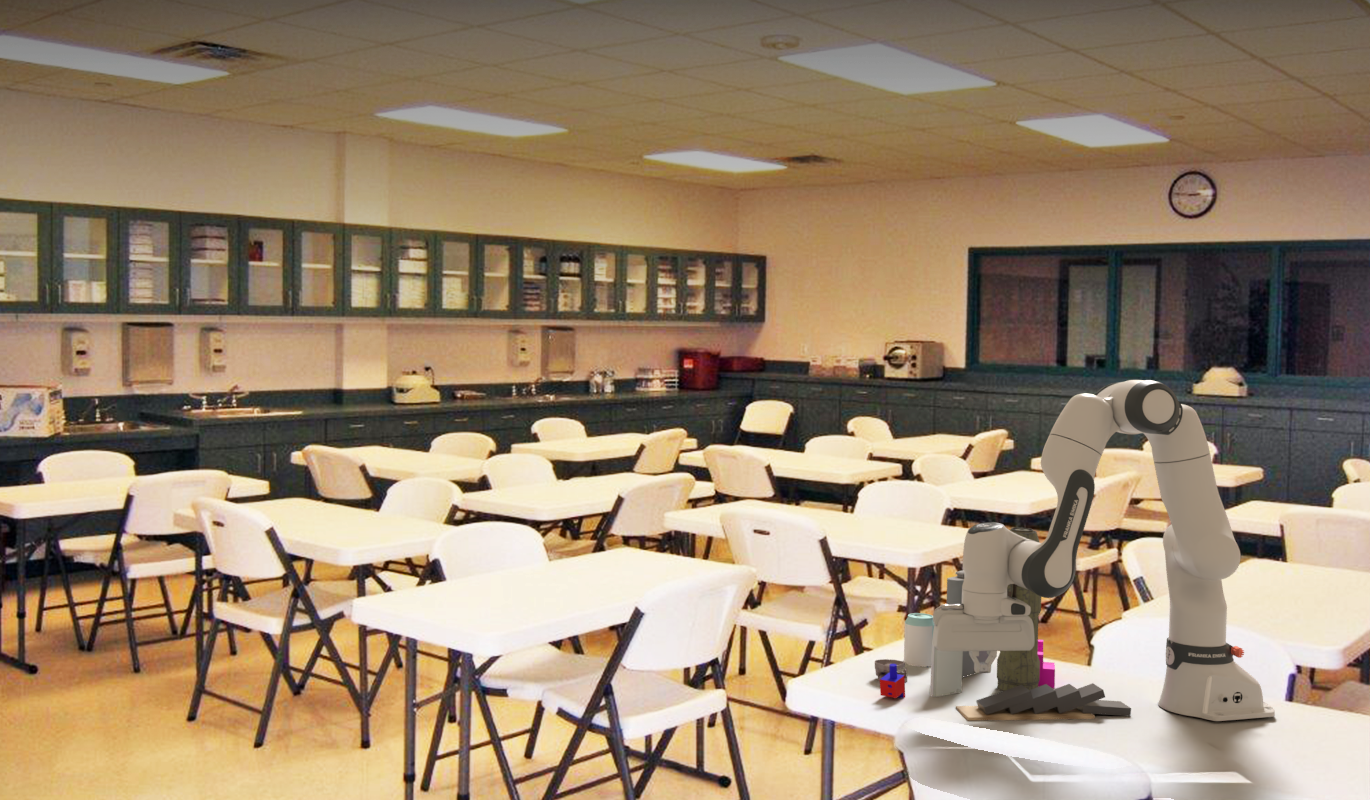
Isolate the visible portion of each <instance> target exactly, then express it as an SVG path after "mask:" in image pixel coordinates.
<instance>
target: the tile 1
mask: <svg viewBox="0 0 1370 800" xmlns="http://www.w3.org/2000/svg"><path fill="white" fill-rule="evenodd" d="M1031 699H1033V697H1032V694H1031V691H1030V690H1028V689H1027V688H1026V687H1024V686H1023V685H1019V686H1017V687H1014V688H1011V689H1008V690H1005V691H1000V692H997V693H994V694H992V695H988V696H986V697H983V698H980V699H976V701H975V702H976V704H977V705H976V706H978V708H979V709H980V710H981V711H982V712H984V713H985V714H986V715H988V714H991V713H994V712H997V711H1000V710H1002V709H1005V708H1008V707H1011V706H1014V705H1017V704H1019V703H1022V702H1025V701H1028V700H1031Z"/></svg>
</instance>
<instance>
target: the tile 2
mask: <svg viewBox="0 0 1370 800" xmlns="http://www.w3.org/2000/svg"><path fill="white" fill-rule="evenodd" d="M1054 689H1055V688H1051V687H1050V686H1048V685H1047V684H1045V685H1042V686H1039V687H1036V688H1034V689H1031V690H1030V691H1031V694H1032V697H1033V699H1031V700H1028V701H1025V702H1022V703H1019V704H1017V705H1014V706H1011V707H1008V708H1005V710H1006V711H1008V712H1009V713H1010V714H1011V715H1012V714H1015V713H1018V712H1021V711H1023V710H1026V709H1029V708H1032V707H1034V706H1037V705H1040V704H1043V703H1046V702H1048V701H1051V700H1054V699H1057V698H1058V697H1057V694H1056V691H1055V690H1054Z"/></svg>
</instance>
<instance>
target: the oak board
mask: <svg viewBox="0 0 1370 800" xmlns="http://www.w3.org/2000/svg"><path fill="white" fill-rule="evenodd" d="M955 709H956V710H957V711H958V712H959V713H960V714H961V715H962V716H963V717H964V718H965V719H966V721H1020V720H1021V721H1027V720H1029V721H1030V720H1036V721H1037V720H1041V721H1042V720H1095V719H1096V716H1095V714H1089V713H1082V712H1081V711H1079V710H1078V709H1076V708H1074V709H1072V710H1069V711H1066V712H1063V713H1061V714H1059V713H1058V712H1056V711H1055V710H1054V709H1049V710H1046V711H1043V712H1041V713H1038V714H1034V713H1033V712H1032V711H1030V710H1029V709H1026V710H1023V711H1021V712H1018V713H1015V714H1012V715H1011V714H1010V713H1009V712H1008V711H1006V710H1005V709H1002V710H1000V711H997V712H994V713H991V714H988V715H986V714H985V713H984V712H982V711H981V710H980V709H979V708H978V705H955Z"/></svg>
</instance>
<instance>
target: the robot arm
mask: <svg viewBox="0 0 1370 800" xmlns="http://www.w3.org/2000/svg"><path fill="white" fill-rule="evenodd" d="M1055 420H1056V421H1055V423H1054V424H1053V426H1052V428H1051V430H1050V432H1049V435H1048V437H1047V440H1046V442H1045V444H1044V447H1043V450H1042V453H1041V458H1040V467H1041V469H1042V472H1043V474H1044V476H1045V478H1046V479H1047V480H1048V482H1049V483H1050V484H1051V485H1052V486H1053V488H1054V489H1055V491H1056V495H1057V503H1056V507H1055V511H1054V515H1053V517H1052V521H1051V523H1050V525H1049V529H1048V532H1047V535H1046V537H1045V539H1044V541H1042V542H1040V541H1039V542H1040V543H1039V542H1036V541H1034V540H1030V539H1027V538H1025V537H1022V536H1020V535H1017V534H1015V533H1013V532H1012V531H1010V530H1011V529H1009V528H1007V527H1006V526H1005V525H1004V524H1003V523H999V522H996V521H995V522H994V521H993V522H992V521H991V522H981V523H977V524H974V525H973V526H971V527H970V528H969V529H968V530H967V532H966V534H965V538H964V543H963V549H962V550H963V551H962V570H963V571H964V582H963V585H962V604H952V605H947V603H945V604H940V606H937V607H936V608H935V609H934V610H933V614H932V616H933V622H934V624H935V625H934V630H933V639H932V643H933V645H934V647H935V648H936V649H937V650H939V651H969V655H970V657H971V658H972V660H973V662H974V671H975V672H976V674H981V673H982V674H990V673H991V672H992V664H993V663H994V661H995V660H996V658H998V655H997V654H998V652H1000V651H1030V650H1031V649H1032V648H1033V646H1034V641H1035V639H1034V626H1033V622H1032V619H1031V618H1030V617H1029V616H1028V615H1029V614H1030V612H1031V608H1030V606H1029V605H1028V604H1026V603H1025V602H1023V601H1021V600H1019V599H1016V598H1013V597H1010V596H1007V587H1008V585H1009V584H1016V585H1018V586H1020V587H1023V588H1025V589H1028V590H1030V591H1032V592H1033V593H1035V594H1037V595H1039V596H1041V598H1046V599H1053V598H1057V597H1059V596H1062V594H1065V592H1066V591H1067V590H1068V589H1069V588H1070V587H1071V585H1072V584H1073V581H1074V579H1075V576H1076V575H1075V574H1076V569H1077V568H1076V567H1077V565H1076V564H1077V554H1078V550H1079V546H1080V544H1081V539H1082V536H1083V533H1084V530H1085V527H1086V524H1087V520H1088V518H1089V514H1090V510H1091V506H1092V504H1093V500H1094V495H1095V488H1096V486H1095V477H1096V474H1097V469H1098V466H1099V464H1100V461H1101V458H1102V456H1103V453H1104V451H1105V449H1106V446H1107V443H1108V442H1109V440H1110V439H1111V437H1112V436H1113V435H1114V434H1126V435H1139V434H1143V435H1144V436H1145V437H1146V438H1147V440H1148V443H1149V445H1150V447H1151V453H1152V459H1153V465H1154V469H1155V475H1156V478H1157V479H1156V480H1157V483H1158V489H1159V494H1160V498H1161V501H1162V503H1163V506H1164V508H1165V510H1166V512H1167V515H1168V517H1169V518H1168V519H1169V521H1170V524H1169V525H1168V527H1166V529H1165V531H1164V532H1163V536H1162V544H1163V550H1164V556H1165V557H1164V558H1165V570H1166V581H1167V587H1168V595H1169V597H1168V598H1169V614H1168V615H1169V618H1168V619H1169V621H1168V622H1169V625H1168V626H1169V627H1168V637H1166V645H1165V648H1166V649H1165V665H1166V668H1165V669H1166V671H1165V675H1164V676H1165V677H1164V682H1163V688H1162V690H1161V693H1160V697H1159V699H1158V702H1157V704H1158V706H1159V707H1160V708H1161V709H1163V710H1165V711H1168V712H1171V713H1174V714H1179V715H1182V716H1188V717H1194V718H1200V719H1204V720H1208V721H1212V722H1222V721H1223V722H1224V721H1236V720H1237V721H1238V720H1248V719H1259V718H1262V719H1263V718H1271V717H1275V716H1276V713H1275V708H1273V707H1272V706H1271V705H1270V704H1268V703H1266V702H1264V696H1263V695H1264V694H1263V691H1262V690H1263V689H1262V687H1261V683H1259V681H1258V680H1257V679H1256V678H1255V677H1254V676H1252V675H1251V674H1250V673H1249V672H1248V671H1246V670H1245V669H1244V668H1243V667H1242V666H1240V665H1239V664H1238V663H1236V661H1235V660H1234V656H1235V657H1237V658H1239V659H1240V658H1243V656H1244V655H1245V650H1244V649H1243V648H1241V647H1239V646H1237V645H1235V646H1233V645H1231V644H1230V643H1228V642H1227V622H1228V621H1227V619H1228V617H1227V616H1228V615H1227V614H1228V605H1227V601H1226V599H1225V593H1224V589H1223V588H1224V587H1223V582H1222V580H1224V579H1227V578H1229V577H1231V576H1232V575H1233V574H1234V573H1235V572H1236V571H1237V570H1238V568H1239V567H1240V563H1241V560H1242V559H1241V554H1242V553H1241V550H1240V547H1239V545H1238V543H1237V542H1236V539H1235V537H1234V533H1233V529H1232V527H1231V523H1230V520H1229V518H1228V515H1227V512H1226V509H1225V507H1224V504H1223V501H1222V499H1221V496H1220V493H1219V489H1218V486H1217V481H1216V476H1215V475H1216V474H1215V471H1214V467H1213V463H1212V462H1213V461H1212V457H1211V451H1210V448H1209V443H1208V440H1207V436H1206V435H1207V434H1206V433H1205V430H1204V426H1203V425H1202V422H1201V420H1200V417H1199V415H1198V413H1197V411H1196V410H1195V409H1194V408H1193V407H1191V406H1189V405H1186V404H1184V403H1180V401H1179V399H1178V398H1177V396H1176V394H1175V393H1174V391H1173V390H1172V389H1171V388H1170V387H1169V386H1168V385H1166V384H1165V383H1162V382H1160V381H1158V380H1157V381H1155V380H1151V379H1146V380H1142V379H1128V380H1126V381H1120V382H1112V383H1111V382H1110V383H1109V384H1107V385H1105V386H1103V387H1101V388H1100V389H1098V390H1097V391H1096V392H1095V393H1094V394H1093V393H1086V392H1085V393H1077V394H1076V395H1073V396H1072V397H1071V398H1070V399H1069V400H1068V401H1067V403H1066V405H1065V406H1064V407H1063V409H1062V410H1061V412H1060V414H1059V415H1058V417H1057V418H1056V419H1055ZM979 651H987V654H988V655H989V656H988V658H987V659H986V661H985V662H979V661H978V659H977V657H976V656H979Z"/></svg>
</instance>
